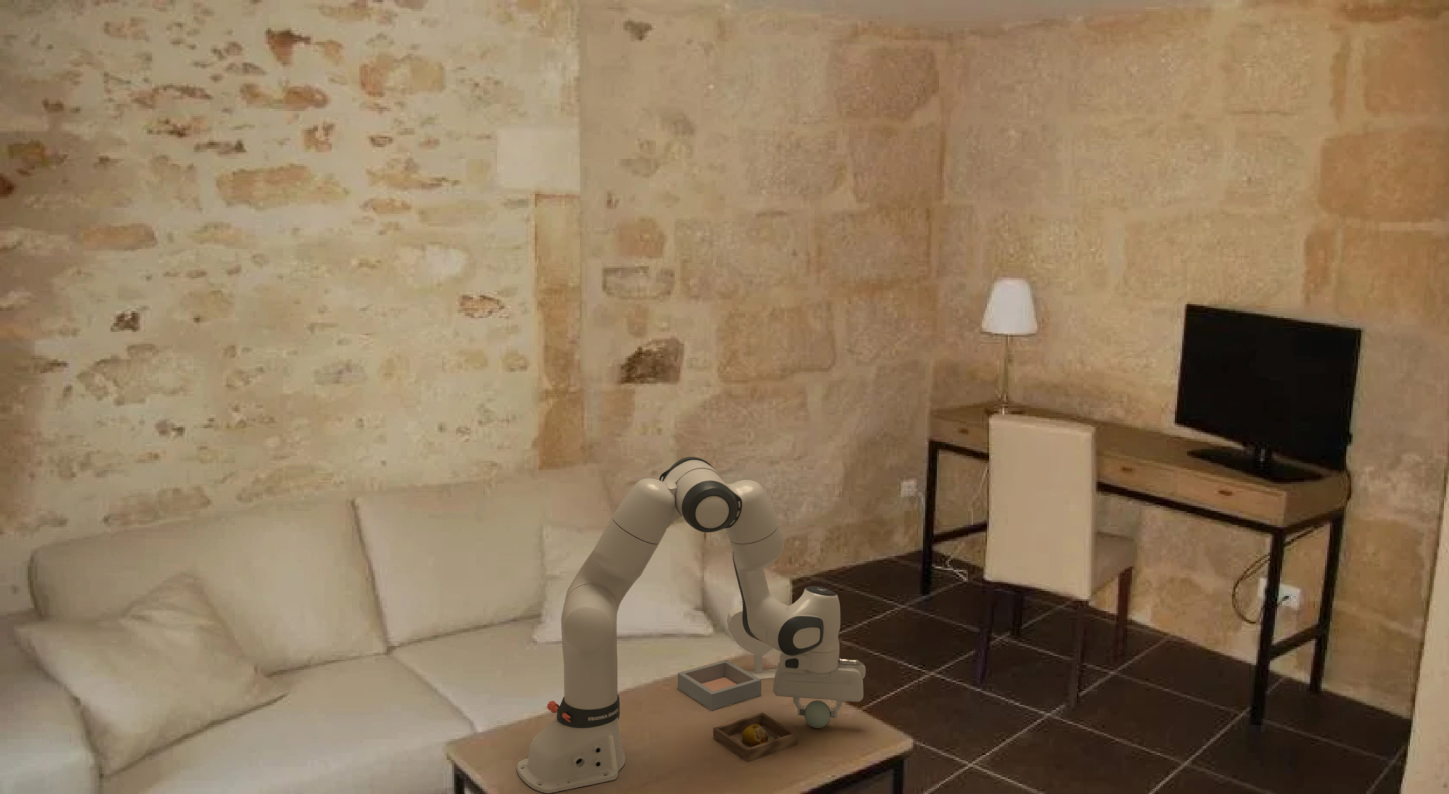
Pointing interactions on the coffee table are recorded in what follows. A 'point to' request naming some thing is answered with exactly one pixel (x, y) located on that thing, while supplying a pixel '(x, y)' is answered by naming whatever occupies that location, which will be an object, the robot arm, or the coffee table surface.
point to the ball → (817, 714)
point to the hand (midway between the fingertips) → (817, 715)
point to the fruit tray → (748, 754)
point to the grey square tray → (719, 684)
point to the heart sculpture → (749, 643)
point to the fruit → (755, 735)
